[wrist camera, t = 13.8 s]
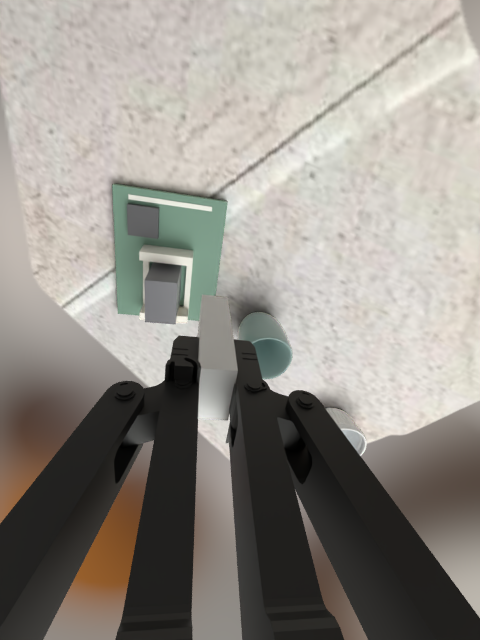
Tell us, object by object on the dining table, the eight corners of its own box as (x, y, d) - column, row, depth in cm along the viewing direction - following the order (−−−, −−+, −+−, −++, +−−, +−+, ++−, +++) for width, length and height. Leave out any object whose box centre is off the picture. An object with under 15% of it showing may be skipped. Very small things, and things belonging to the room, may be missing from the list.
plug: (154, 259, 44) (144, 280, 37) (182, 262, 44) (177, 283, 37) (154, 299, 47) (144, 325, 40) (180, 302, 48) (175, 328, 41)
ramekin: (364, 420, 68) (379, 446, 62) (319, 451, 72) (329, 478, 66) (329, 393, 62) (342, 419, 56) (283, 427, 66) (290, 455, 60)
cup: (229, 337, 53) (233, 374, 45) (243, 300, 50) (251, 331, 41) (269, 347, 55) (280, 384, 46) (285, 311, 52) (301, 344, 43)
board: (114, 183, 40) (104, 187, 35) (227, 200, 42) (229, 206, 38) (119, 310, 49) (111, 324, 45) (211, 318, 51) (212, 333, 47)
